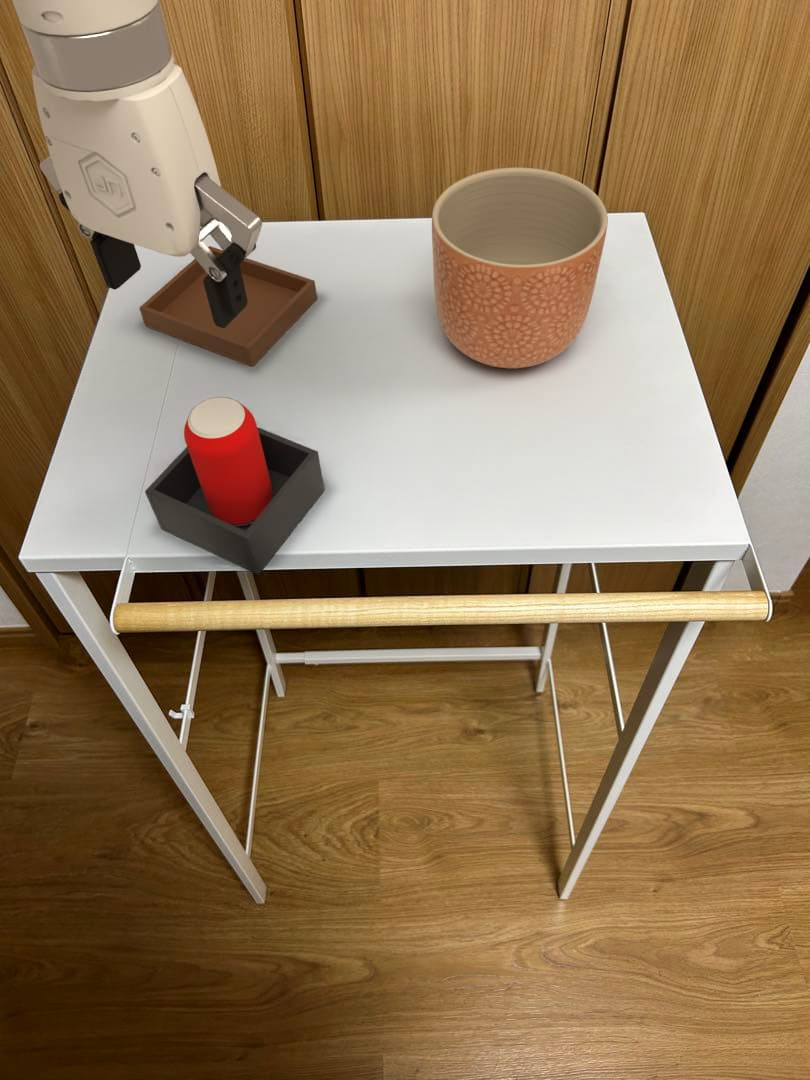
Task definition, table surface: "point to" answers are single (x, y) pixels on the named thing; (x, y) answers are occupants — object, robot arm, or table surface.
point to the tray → (252, 330)
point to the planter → (515, 263)
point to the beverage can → (228, 460)
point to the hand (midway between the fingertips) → (177, 296)
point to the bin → (257, 542)
